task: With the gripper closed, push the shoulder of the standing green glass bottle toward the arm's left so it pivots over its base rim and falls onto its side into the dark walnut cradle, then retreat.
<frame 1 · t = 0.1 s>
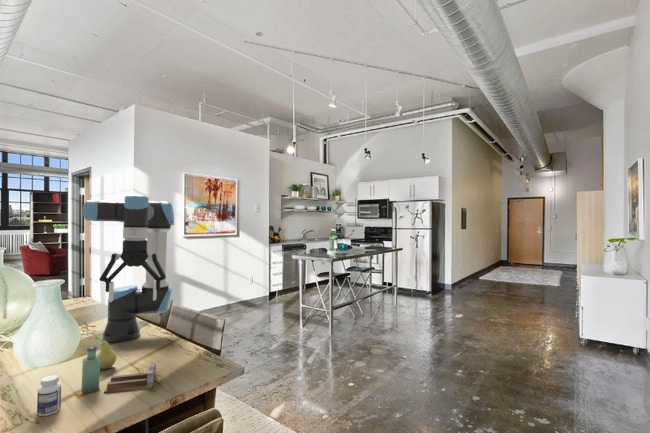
hand: (133, 300, 121), 28 cm above the table, fingers open, 13 cm apart
bottle: (90, 388, 114), on the table
cradle: (131, 384, 118), on the table
pill bottle: (48, 412, 101), on the table
fruit: (104, 369, 129), on the table
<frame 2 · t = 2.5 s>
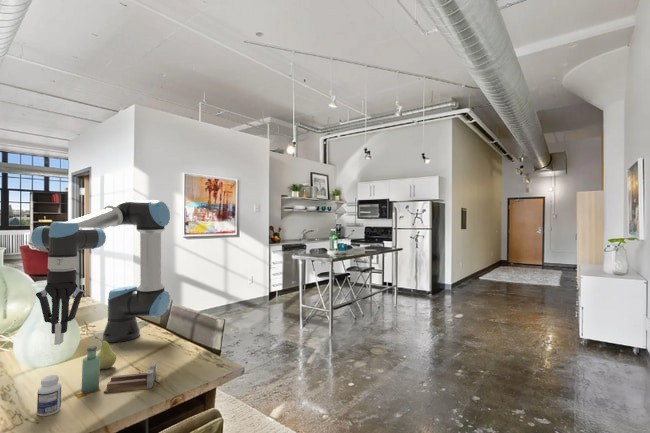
hand: (58, 343, 111), 16 cm above the table, fingers closed
nothing on the table moved.
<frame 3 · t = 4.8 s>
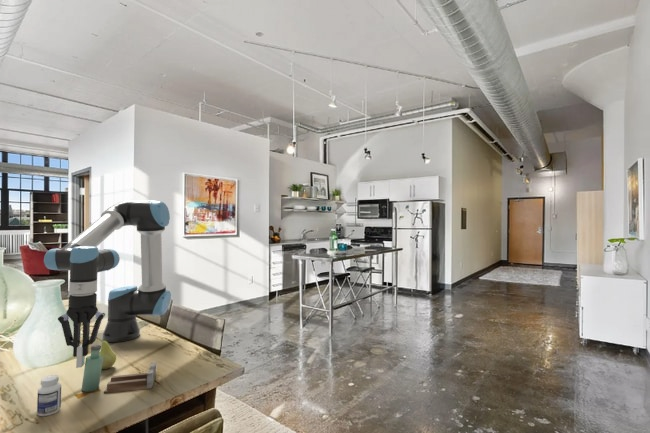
hand: (80, 365, 113), 8 cm above the table, fingers closed
bottle: (90, 388, 114), on the table, tilted 5°, touching gripper
everything else where it was.
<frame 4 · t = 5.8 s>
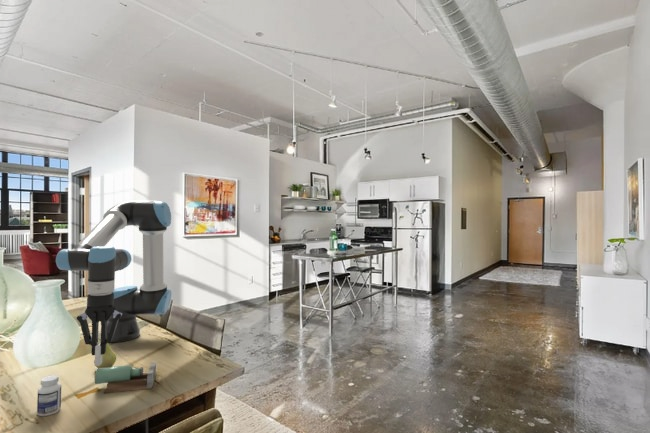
hand: (98, 364, 115), 8 cm above the table, fingers closed
bottle: (96, 376, 115), point 4 cm above the table, tilted 90°, touching cradle
everything else where it was.
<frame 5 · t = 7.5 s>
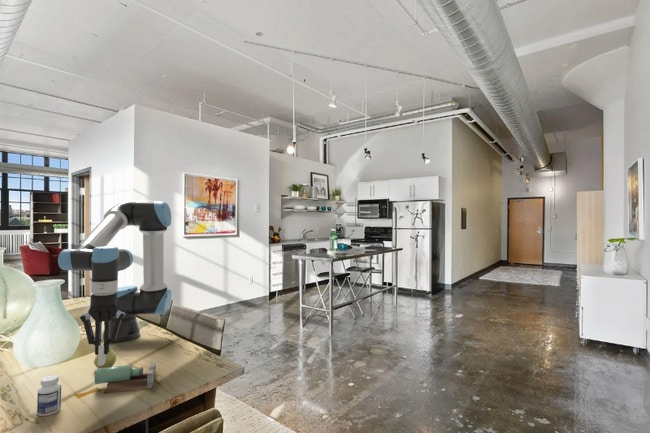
hand: (101, 363, 115), 8 cm above the table, fingers closed
nothing on the table moved.
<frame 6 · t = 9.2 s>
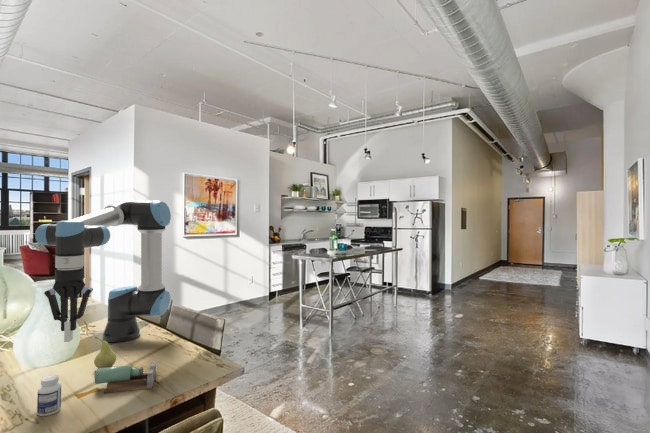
hand: (68, 340, 113), 16 cm above the table, fingers closed
nothing on the table moved.
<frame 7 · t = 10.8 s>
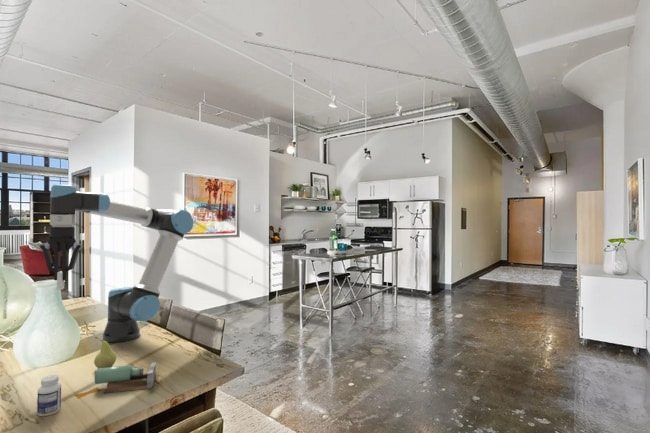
hand: (60, 288, 130), 29 cm above the table, fingers closed
nothing on the table moved.
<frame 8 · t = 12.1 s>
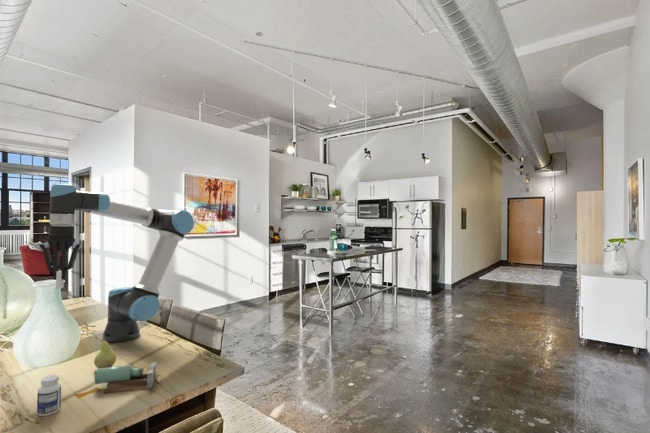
hand: (59, 288, 130), 29 cm above the table, fingers closed
nothing on the table moved.
at the end: bottle tilted 90°; bottle inside the target area (2.7 cm from its centre), point 4.0 cm above the table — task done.
